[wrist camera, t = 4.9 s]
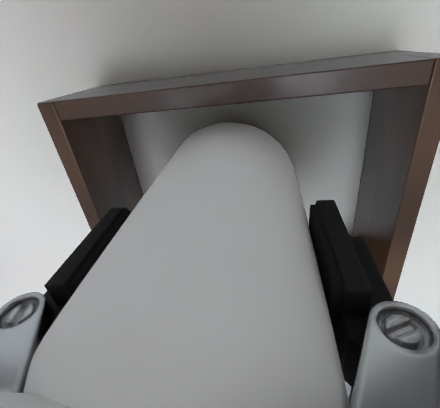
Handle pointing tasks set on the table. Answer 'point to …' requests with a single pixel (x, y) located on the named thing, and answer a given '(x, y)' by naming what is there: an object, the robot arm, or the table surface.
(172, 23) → the table surface
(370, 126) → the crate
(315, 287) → the can
